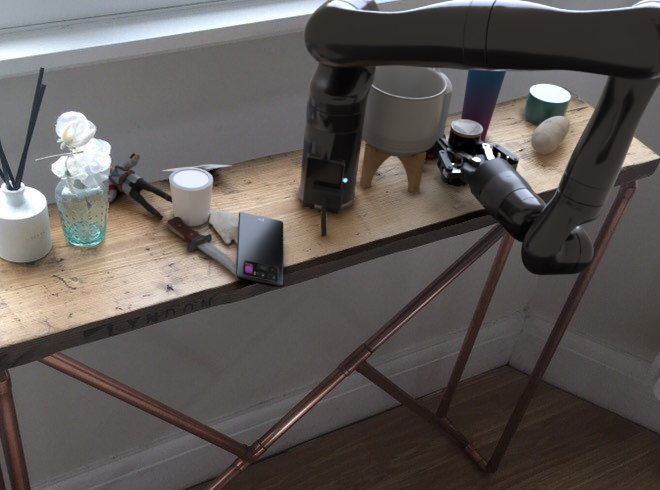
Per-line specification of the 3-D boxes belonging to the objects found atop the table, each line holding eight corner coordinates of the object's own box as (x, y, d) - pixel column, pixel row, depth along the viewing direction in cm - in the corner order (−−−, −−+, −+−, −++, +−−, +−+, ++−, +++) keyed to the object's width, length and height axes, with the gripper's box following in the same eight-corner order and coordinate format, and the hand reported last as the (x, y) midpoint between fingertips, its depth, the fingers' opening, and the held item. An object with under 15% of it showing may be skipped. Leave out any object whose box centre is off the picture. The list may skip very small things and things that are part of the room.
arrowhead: (232, 239, 135) (193, 215, 141) (233, 250, 136) (194, 225, 142) (267, 225, 138) (227, 202, 144) (267, 235, 139) (227, 212, 145)
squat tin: (562, 129, 172) (570, 105, 169) (521, 122, 173) (528, 98, 170) (564, 111, 178) (571, 88, 174) (525, 104, 179) (531, 80, 176)
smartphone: (239, 208, 138) (238, 213, 139) (236, 276, 129) (234, 280, 130) (284, 218, 140) (282, 223, 141) (284, 285, 130) (282, 290, 131)
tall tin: (468, 189, 153) (480, 137, 147) (437, 183, 154) (448, 131, 147) (472, 174, 157) (484, 122, 150) (442, 168, 158) (453, 116, 151)
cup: (446, 134, 168) (462, 57, 157) (469, 124, 171) (486, 48, 161) (474, 149, 164) (492, 71, 154) (497, 138, 168) (516, 62, 158)
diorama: (228, 161, 155) (229, 172, 156) (160, 168, 153) (161, 178, 154) (234, 166, 148) (235, 177, 148) (162, 173, 146) (163, 184, 147)
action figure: (136, 224, 137) (74, 179, 143) (158, 237, 143) (98, 194, 149) (169, 174, 136) (106, 131, 142) (190, 190, 142) (129, 148, 148)
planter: (386, 204, 149) (403, 105, 136) (339, 169, 156) (350, 72, 144) (442, 183, 155) (463, 87, 142) (394, 150, 162) (409, 56, 150)
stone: (524, 143, 162) (539, 100, 167) (529, 169, 166) (544, 126, 172) (556, 142, 159) (570, 98, 164) (560, 169, 163) (574, 125, 169)
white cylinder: (205, 201, 146) (205, 164, 141) (218, 224, 141) (218, 186, 136) (164, 207, 143) (163, 169, 139) (176, 231, 139) (175, 192, 134)
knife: (259, 259, 133) (237, 274, 130) (259, 266, 134) (237, 281, 131) (176, 214, 140) (154, 227, 137) (176, 221, 141) (154, 234, 138)
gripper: (547, 166, 141) (496, 116, 153) (468, 177, 137) (421, 124, 149) (535, 206, 147) (486, 155, 158) (458, 217, 143) (414, 164, 154)
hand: (455, 140), depth 153 cm, fingers closed on tall tin, 5 cm apart
